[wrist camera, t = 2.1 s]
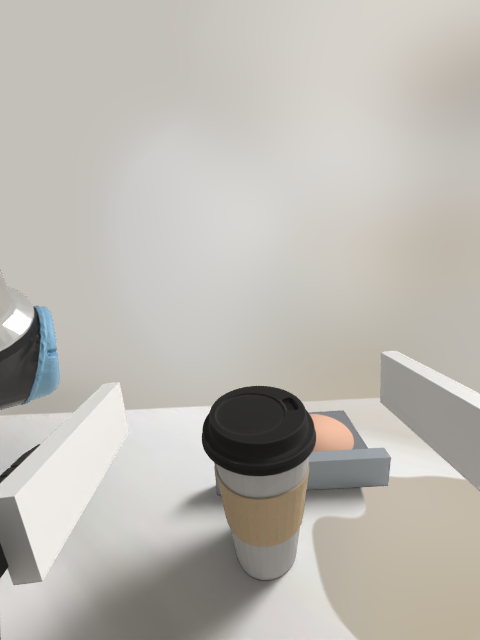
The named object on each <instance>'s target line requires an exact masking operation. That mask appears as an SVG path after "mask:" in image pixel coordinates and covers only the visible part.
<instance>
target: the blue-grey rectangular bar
mask: <svg viewBox="0 0 480 640" xmlns="http://www.w3.org/2000/svg"><path fill="white" fill-rule="evenodd" d="M308 460H309V474H308V482H307V490H317V489H336V488H354V487H373V486H388V480H389V470H390V460H391V457H390V456H389V454H388V453H387V451H386V450H385V449H384V448H370V449H352V450H334V451H316V452H312V453H311V454H310V456H309V459H308ZM215 477H216V486H217V495H221V492H220V488H219V484H218V479H217V475H216V470H215Z"/></svg>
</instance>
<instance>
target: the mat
mask: <svg viewBox="0 0 480 640" xmlns="http://www.w3.org/2000/svg"><path fill="white" fill-rule="evenodd" d="M309 414H310V416H311V417H312V419H313V422H314V427H315V431H316V444H315V447H314V449H313V451H312V452H316V451H334V450H352V449H368V448H367V446H366V444H365V443H364V441H363V440H362V438H361V437H360V435H359V434H358V432H357V430H356V429H355V427H354V426H353V424H352V423H351V421H350V420H349V418H348V416H347V415H346V413H345V412H344V411H329V412H311V413H309Z"/></svg>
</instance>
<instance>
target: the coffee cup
mask: <svg viewBox="0 0 480 640" xmlns="http://www.w3.org/2000/svg"><path fill="white" fill-rule="evenodd" d="M202 444H203V447H204V450H205V452H206V453H207V455H208V456H209V458H210V459H211V460H212V461H213V462H215V470H216V475H217V479H218V484H219V488H220V492H221V497H222V501H223V505H224V510H225V514H226V518H227V521H228V524H229V526H230V528H231V533H232V537H233V541H234V545H235V550H236V554H237V557H238V560H239V562H240V564H241V566H242V567H243V569H244V570H245V571H246V572H247V573H248V574H249V575H250V576H252V577H254V578H256V579H260V580H271V579H275V578H278V577H280V576H282V575H283V574H285V573H286V572H287V571H288V570H289V569H290V568H291V567H292V565H293V563H294V561H295V557H296V551H297V544H298V536H299V529H300V525H301V523H302V518H303V512H304V505H305V497H306V490H307V482H308V474H309V460H308V459H309V456H310V454H311V453H312V451H313V449H314V447H315V444H316V431H315V427H314V422H313V419H312V417H311V416H310V414H309V413H308V412H307V410H306V409H305V407H304V405H303V403H302V402H301V401H300V400H299V399H298V398H297V397H296V396H294V395H293V394H291V393H289V392H287V391H285V390H282V389H279V388H274V387H267V386H251V387H244V388H239V389H236V390H233V391H231V392H228V393H226V394H225V395H223V396H221V397H220V398H219V399H218V400H217V401H216V402H215V403H214V404H213V406H212V408H211V410H210V413H209V414H208V416H207V417H206V419H205V422H204V425H203V433H202Z"/></svg>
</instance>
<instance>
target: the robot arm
mask: <svg viewBox="0 0 480 640" xmlns="http://www.w3.org/2000/svg"><path fill="white" fill-rule="evenodd" d="M56 350H57V347H56V339H55V332H54V325H53V320H52V316H51V312H50V310H49V309H48V308H46V307H39V306H33V305H32V303H31V302H30V301H29V299H28V297H27V296H25V295H24V294H23V293H21V292H20V291H18V290H16V289H14V288H11V287H8V286H7V285H6V283H5V280H4V278H3V275H2V273H1V270H0V410H2V409H5V408H9V407H13V406H17V405H20V404H21V405H23V404H27V403H28V402H30V401H31V400H34V399H37V398H40V397H43V396H46V395H49V394H51V393H52V392H54V391H55V390H56V389H57V387H58V385H59V380H60V377H59V362H58V355H57V352H56ZM380 394H381V396H380V402H381V403H382V404H383V405H384V406H385V407H387V408H388V409H389V410H390V411H391V412H392V413H393V414H394V415H395V416H397V417H398V418H399V419H400V420H401V421H402V422H403V423H404V424H405V425H407V426H408V427H409V428H410V429H411V430H412V431H413V432H414V433H415V434H417V435H418V436H419V437H420V438H421V439H422V440H423V441H424V442H425V443H427V444H428V445H429V446H430V447H431V448H432V449H433V450H434V451H436V452H437V453H438V454H439V455H440V456H441V457H442V458H443V459H444V460H446V461H447V462H448V463H449V464H450V465H451V466H452V467H453V468H454V469H456V470H457V471H458V472H459V473H460V474H461V475H462V476H463V477H464V478H466V479H467V480H468V481H469V482H470V483H471V484H472V485H474V486H475V487H476V488H477V489H478V490H479V491H480V393H477V392H476V391H473V390H472V389H470V388H468V387H466V386H464V385H462V384H460V383H458V382H456V381H454V380H452V379H450V378H448V377H446V376H444V375H442V374H440V373H438V372H437V371H435V370H433V369H430V368H429V367H427V366H425V365H423V364H421V363H419V362H417V361H415V360H413V359H411V358H409V357H407V356H405V355H403V354H401V353H399V352H397V351H388V352H381V392H380ZM129 432H130V431H129V426H128V421H127V416H126V412H125V407H124V402H123V397H122V392H121V388H120V383H119V382H114V383H105V384H103V385H102V386H101V387H100V388H99V389H98V390H97V391H96V392H94V394H92V395H91V396H90V397H89V398H88V399H87V400H86V401H85V402H84V403H83V404H82V405H81V406H80V407H79V408H78V409H77V410H76V411H75V412H74V413H73V414H72V415H71V416H70V417H69V418H68V419H67V420H65V421H64V422H63V423H62V424H61V425H60V426H59V427H58V428H57V429H56V430H55V431H54V432H53V433H52V434H51V435H50V436H49V437H48V438H47V439H46V440H45V441H44V442H43V443H42V444H39V445H37V446H35V447H34V448H32V449H31V450H29V451H28V452H26V453H25V454H23V455H22V456H21V457H20V458H19V459H18V460H17V461H16V462H14V463H13V464H12V465H11V467H10V468H8V469H7V470H6V471H5V472H4V473H3V474H2V475H0V578H1V576H2V575H3V574H4V572H5V571H6V569H7V568H8V571H9V573H10V576H11V579H12V582H13V585H19V584H27V583H34V582H42V581H43V580H44V578H45V576H46V574H47V573H48V571H49V569H50V568H51V566H52V564H53V562H54V561H55V559H56V557H57V556H58V554H59V552H60V550H61V549H62V547H63V545H64V544H65V542H66V540H67V538H68V537H69V535H70V533H71V532H72V530H73V528H74V526H75V525H76V523H77V521H78V520H79V518H80V516H81V514H82V513H83V511H84V509H85V507H86V506H87V504H88V502H89V501H90V499H91V497H92V495H93V494H94V492H95V490H96V489H97V487H98V485H99V483H100V482H101V480H102V478H103V477H104V475H105V473H106V471H107V470H108V468H109V466H110V465H111V463H112V461H113V459H114V458H115V456H116V454H117V453H118V451H119V449H120V447H121V446H122V444H123V442H124V440H125V439H126V437H127V435H128V434H129ZM0 640H1V639H0Z"/></svg>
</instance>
